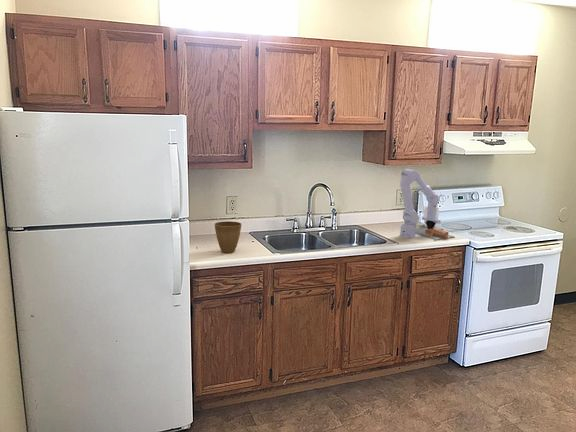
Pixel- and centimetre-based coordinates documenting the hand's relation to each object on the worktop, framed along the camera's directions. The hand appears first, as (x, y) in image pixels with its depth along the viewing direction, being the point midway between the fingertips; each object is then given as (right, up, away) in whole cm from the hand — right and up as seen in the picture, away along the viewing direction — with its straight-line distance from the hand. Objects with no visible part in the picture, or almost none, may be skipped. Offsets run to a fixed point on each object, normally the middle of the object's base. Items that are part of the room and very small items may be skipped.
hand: (430, 232), depth 321 cm
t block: (+4, -3, -6) cm, 8 cm away
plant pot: (-128, -9, -50) cm, 138 cm away
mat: (-1, -2, +2) cm, 3 cm away
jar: (+8, +3, +26) cm, 27 cm away
